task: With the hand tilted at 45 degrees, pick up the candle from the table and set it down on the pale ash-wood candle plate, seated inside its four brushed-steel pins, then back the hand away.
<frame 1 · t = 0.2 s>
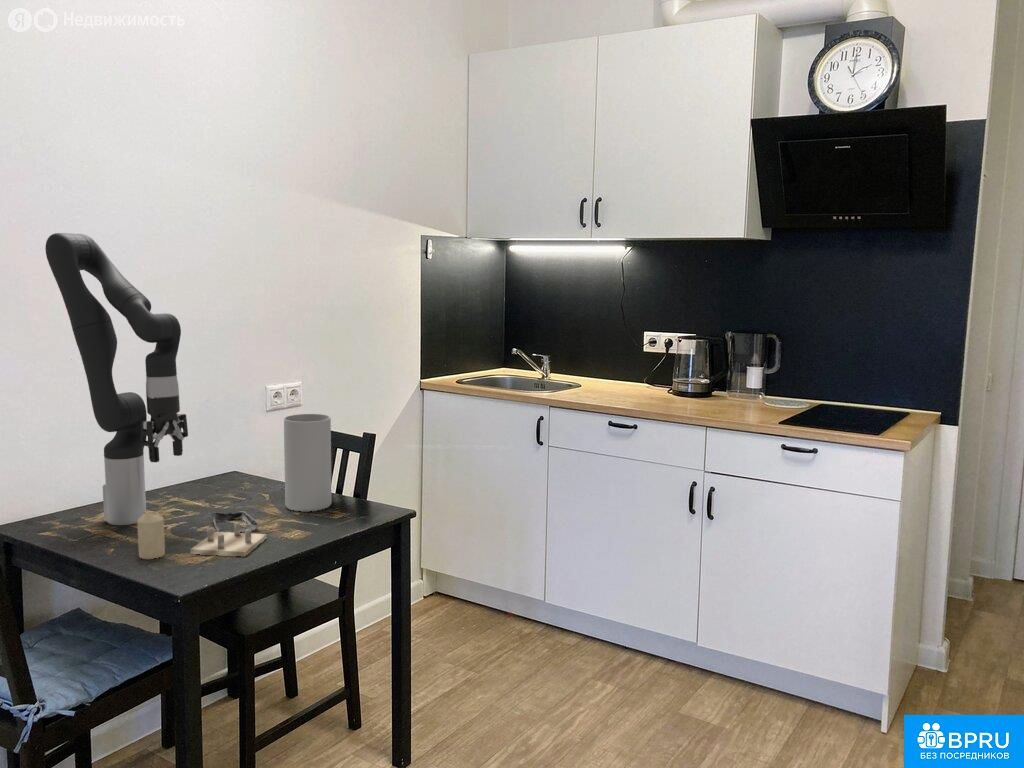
hand: (166, 458, 210), 18 cm above the table, tool pointing down, fingers open, 8 cm apart
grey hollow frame: (233, 528, 215), on the table
candle: (152, 556, 192), on the table
candle plate: (229, 546, 199), on the table
cylinder vase: (308, 506, 234), on the table
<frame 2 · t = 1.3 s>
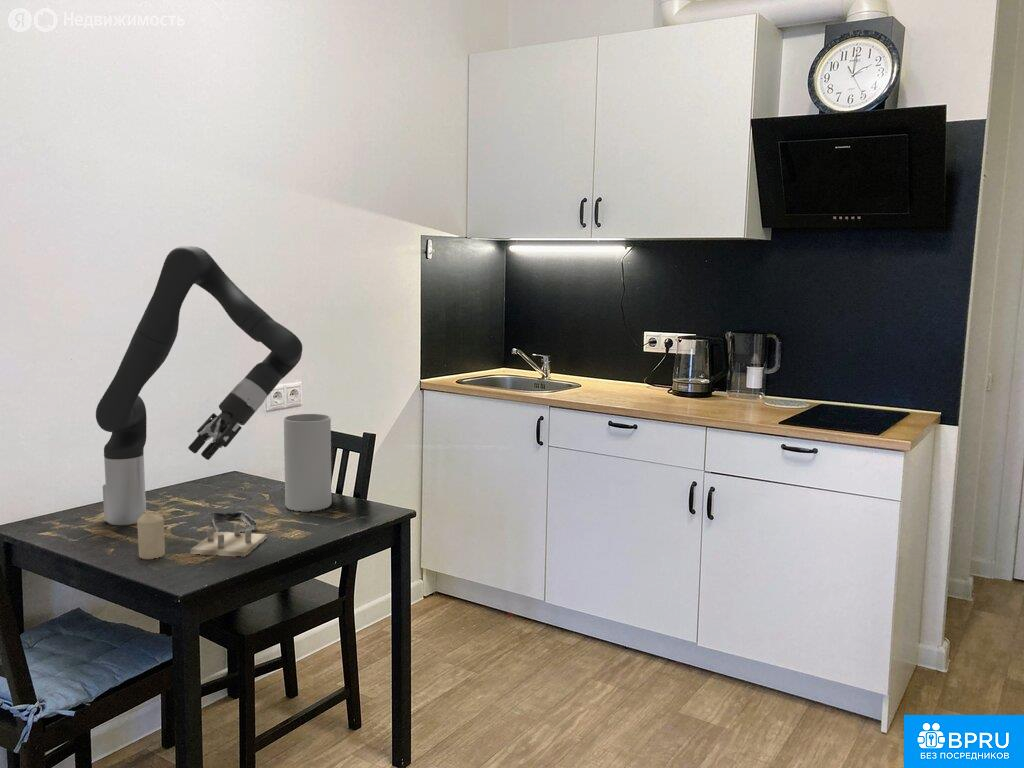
hand: (197, 454, 196), 22 cm above the table, tool tilted 45°, fingers open, 8 cm apart
nothing on the table moved.
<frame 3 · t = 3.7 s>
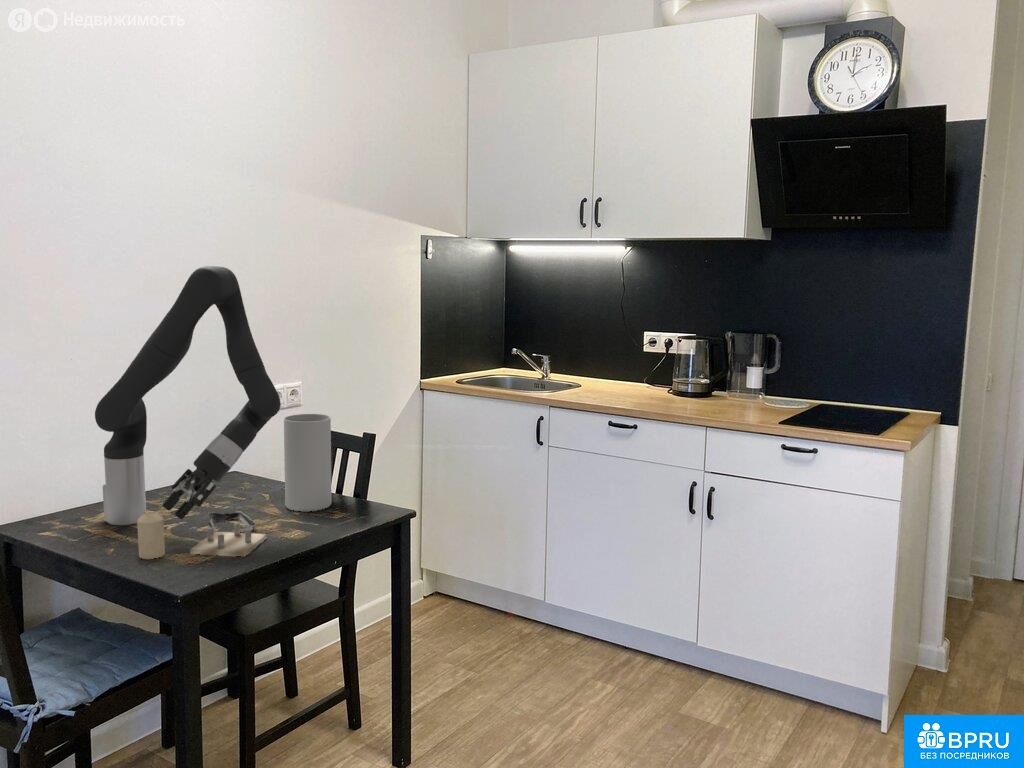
hand: (171, 512, 194), 9 cm above the table, tool tilted 45°, fingers open, 8 cm apart
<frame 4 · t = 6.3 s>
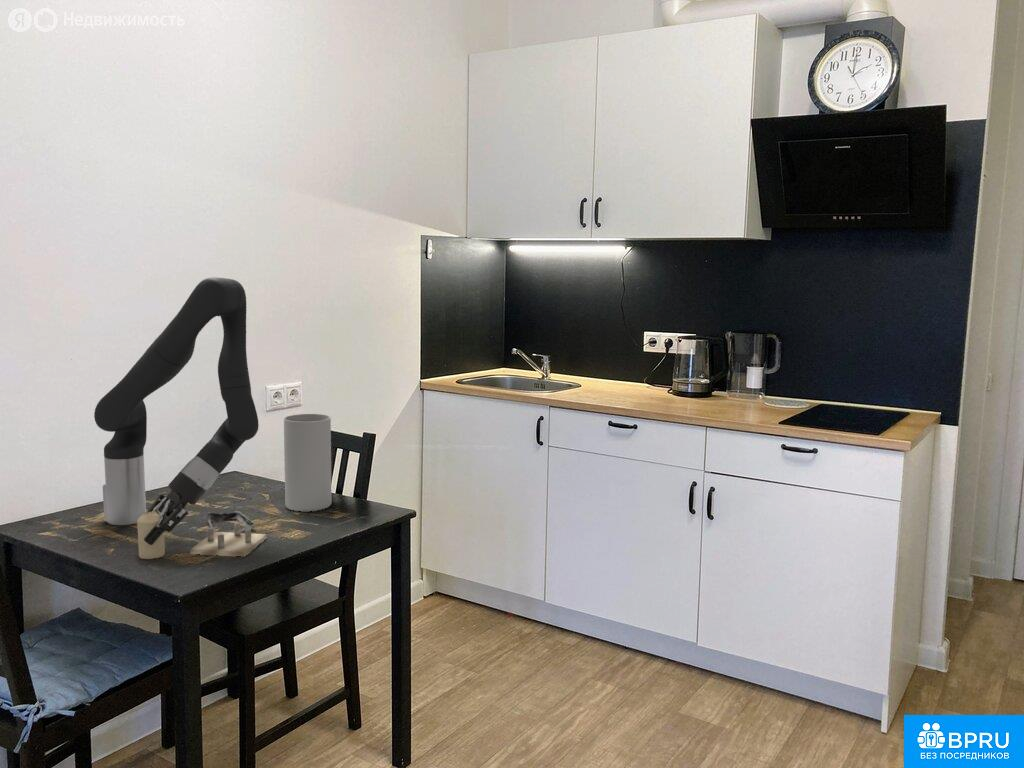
hand: (143, 539, 190), 4 cm above the table, tool tilted 45°, fingers closed on candle, 5 cm apart
candle: (152, 556, 192), on the table, touching gripper
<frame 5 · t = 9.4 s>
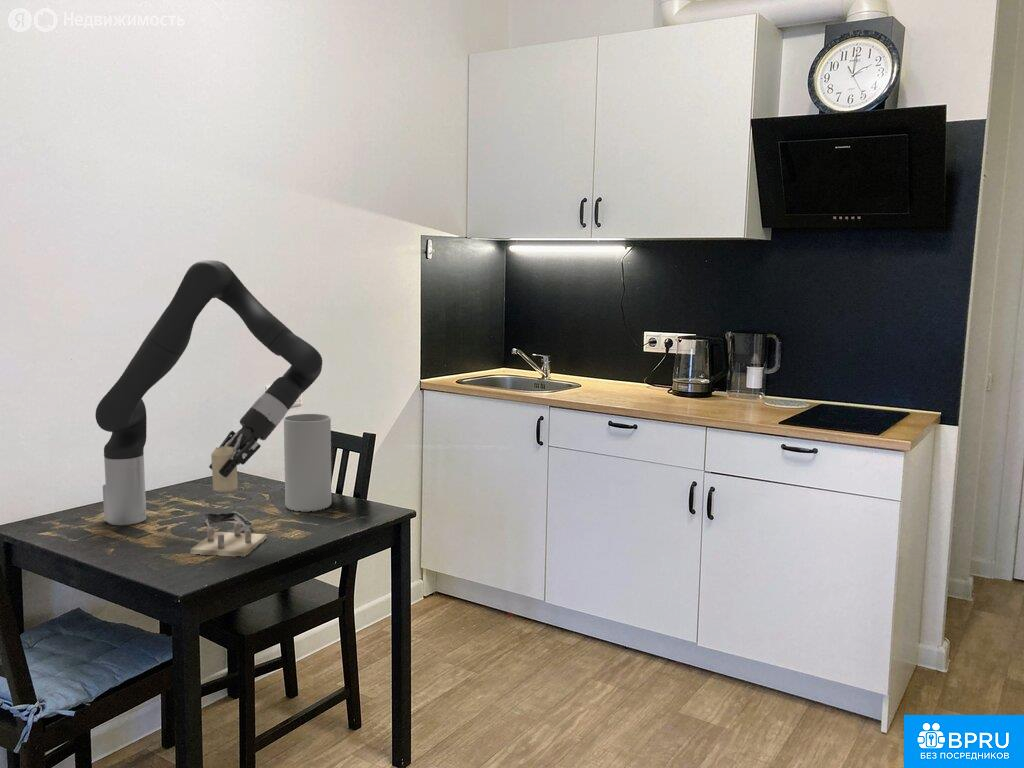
hand: (217, 472, 195), 18 cm above the table, tool tilted 45°, fingers closed on candle, 5 cm apart
candle: (225, 489, 197), point 14 cm above the table, touching gripper
when the fingers open (7 cm above the table, at t = 12.5 s): candle drops 2 cm, resting on candle plate.
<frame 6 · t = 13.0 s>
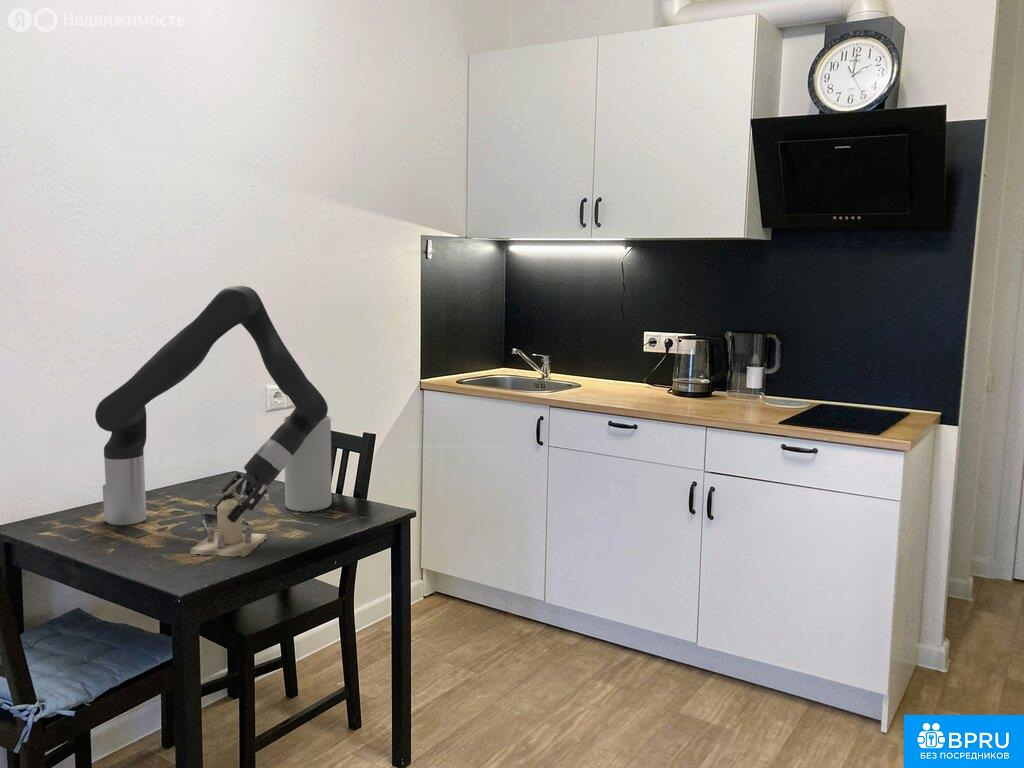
hand: (223, 516, 197), 8 cm above the table, tool tilted 45°, fingers open, 8 cm apart
candle: (230, 541, 199), point 1 cm above the table, touching candle plate
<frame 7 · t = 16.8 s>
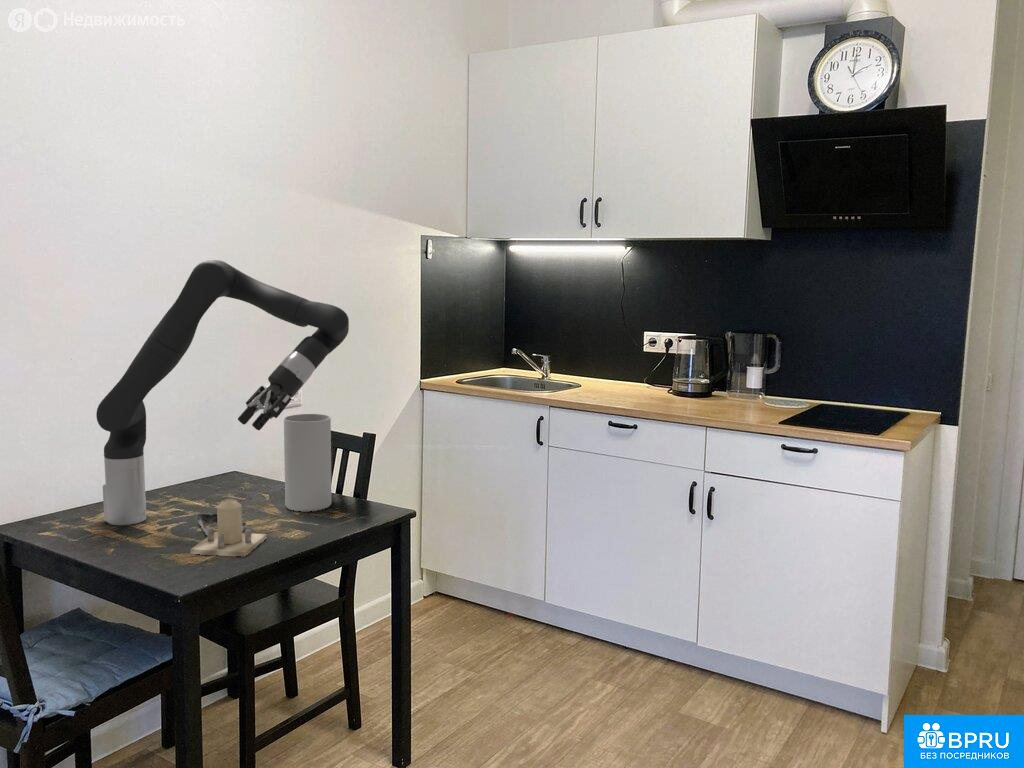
hand: (247, 425, 199), 29 cm above the table, tool tilted 45°, fingers open, 8 cm apart
at the end: candle 0.3 cm off-centre on the candle plate, point 1.0 cm above the candle plate's base; candle tilted 0°; the gripper is holding nothing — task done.
